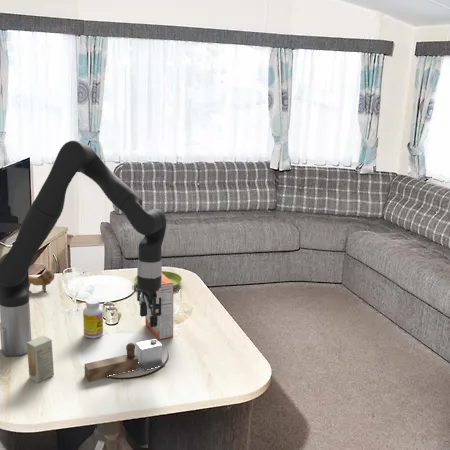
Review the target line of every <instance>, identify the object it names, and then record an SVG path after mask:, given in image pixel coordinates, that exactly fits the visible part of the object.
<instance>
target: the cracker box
mask: <svg viewBox="0 0 450 450" xmlns="http://www.w3.org/2000/svg"><path fill="white" fill-rule="evenodd" d="M156 292H157V297H161V316H158V320H157V326H156V327H151V326H150V311H149V310H148V309H147V316H144V317H145V319H144V320H145V321H144V323H145V326H147V327H148V329H149V330H150V332H151V333H153V334H154V335H155V337H156V339H157V340H158V341H159V340H163V339H164V340H165V339H169V338H174V289H173V282H171V281H170V280H169V279H168V278H167V277H166V276H165V275H164V274H162V279H161V288H160V289H158V290H157V291H156ZM150 306H152V305H150ZM155 312H156V311H155Z"/></svg>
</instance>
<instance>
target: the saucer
mask: <svg viewBox="0 0 450 450" xmlns="http://www.w3.org/2000/svg"><path fill="white" fill-rule="evenodd" d="M162 274H164V275H165V276H166V277H167V278H168V279H169V280H170V281H171V282H173V290H175V289H176V288H177V287H179V285H180V284H181V282H182V280H183V278H182V276H181V275H179V273H175V272H173V271H166V270H162ZM133 281H134V284H135V285H137V275H136V276H135V277H134V279H133Z"/></svg>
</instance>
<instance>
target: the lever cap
mask: <svg viewBox="0 0 450 450" xmlns="http://www.w3.org/2000/svg"><path fill="white" fill-rule="evenodd" d="M135 355H136V357H137V358H138V362H139V364H140V365H141V366H146V365H150V364H154V363H159V362H163V343H161V342H160V341H159V339H158V338H153V339H148V340H143V341H138V342H136V343H135ZM139 364H138V365H139ZM140 365H139V366H140ZM141 366H140V367H141Z"/></svg>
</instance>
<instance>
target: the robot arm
mask: <svg viewBox="0 0 450 450" xmlns="http://www.w3.org/2000/svg"><path fill="white" fill-rule="evenodd" d="M77 173H81V174H83V175H85V176H86V177H87V178H89V179H90V180H92V181H93V182H94V183H95V184H96V185H98V187H99V188H100V190H101V191H102V193H104V195H105V196H106V198H107V199H108V200H109V201H110V202H111V204H113V205H114V206H115V207H117V208H118V210H120V211H121V213H123V214H124V215H125V218H127V220H128V222H129V224H130V225H131V226H132V228H133V229H134V230H135V231H136V232H137V233H139V234H141V235H143V236H144V237H143V239H141V241H140V242H139V244H138V257H137V258H138V259H137V260H138V261H137V266H136V267H137V272H136V273H137V275H136V276H137V284H136V287H137V291H136V292H137V294H136V301H137V302H138V304H139V316H140V317H141V318H143V317H145V316H147V309H148V310H149V311H150V326H151V327H156V326H157V320H158V316H161V297H157V292H156V291H157V290H158V289H160V288H161V279H162V271H163V269H162V268H163V266H162V245H163V243H164V239H165V235H166V230H167V218H166V215H165V213H164V212H163V211H162V210H161V209H160V208H151V209H149V210H148V209H147V210H145V209H144V208H143V207H142V205H143V200H142V198H141V197H140V196H139V195H138V194H137V193H136V192H135V191H134V190H133V189H132V188H130V186H129V185H127V184H126V183H125V182H124V181H123V180H121V178H120V177H118V176H117V175H116V174H115V173H114V172H113V171H112V170H111V169H110V168H109V167H108V166H107V164H105V163H104V161H103V160H102V159H101V157H100V156H99V155H98V154H97V152H96V151H95V150H94V149H93V147H92V146H91V145H89V144H87V143H84V142H81V141H78V140H70V141H67V142H65V143H64V144H63V145H62V146H61V147H60V149H59V151H58V153H57V156H56V157H55V160H54V162H53V164H52V167H51V169H50V172H49V173H48V176H47V178H46V179H45V181H44V182H43V184H42V186H41V188H40V190H39V191H38V194H37V196H36V197H35V199H33V202H32V203H31V205H30V206H29V209H28V210H27V212H26V214H25V216H24V219H23V220H22V223H21V225H20V228H19V230H18V234H17V236H16V239H15V240H14V243H13V244H12V245H11V247H10V249H9V251H8V252H7V253H5V254H3V255H1V257H0V346H1V347H0V349H1V351H2V354H3V356H4V357H7V356H9V357H10V356H11V357H18V356H23V355H26V354H28V352H27V342H29V341H32V340H33V339H32V326H31V324H32V323H31V310H30V309H31V308H30V306H31V305H30V293H29V291H30V287H29V276H30V275H29V269H30V267H31V264H32V262H33V259H34V258H35V256H36V255H37V252H38V251H39V249H40V248H41V247H42V245H43V244H44V242H45V241H46V239H48V236H49V235H50V234H51V232H52V230H53V229H54V227H55V226H56V224H57V222H58V221H59V219H60V217H61V215H62V213H63V211H64V206H65V202H66V200H65V199H66V194H67V191H68V187H69V185H70V183H71V181H72V180H73V178H74V177H75V175H77ZM150 305H152V306H150ZM155 311H156V312H155Z"/></svg>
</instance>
